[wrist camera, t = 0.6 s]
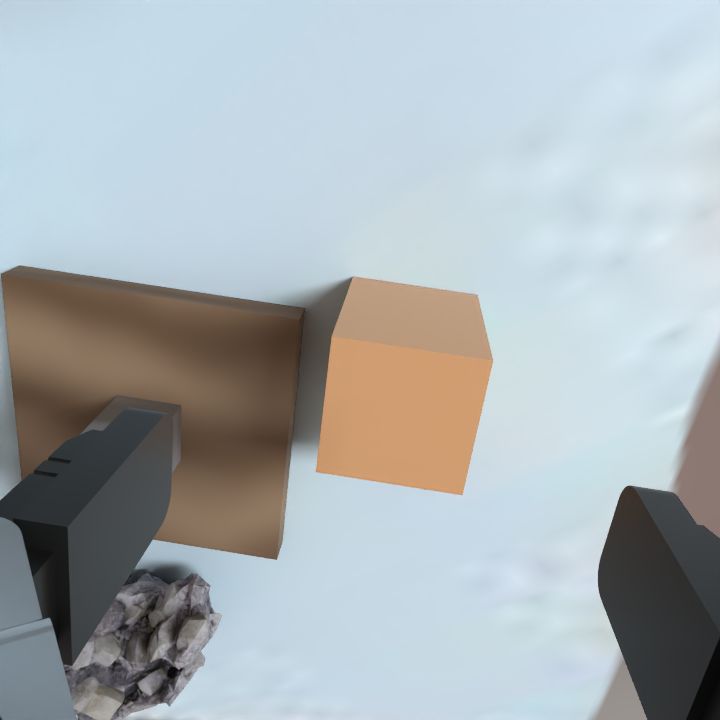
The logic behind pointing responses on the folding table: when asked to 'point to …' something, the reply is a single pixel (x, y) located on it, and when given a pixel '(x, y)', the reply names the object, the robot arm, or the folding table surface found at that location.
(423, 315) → the tan wooden cube
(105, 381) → the post board
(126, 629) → the mineral specimen
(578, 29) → the folding table surface
